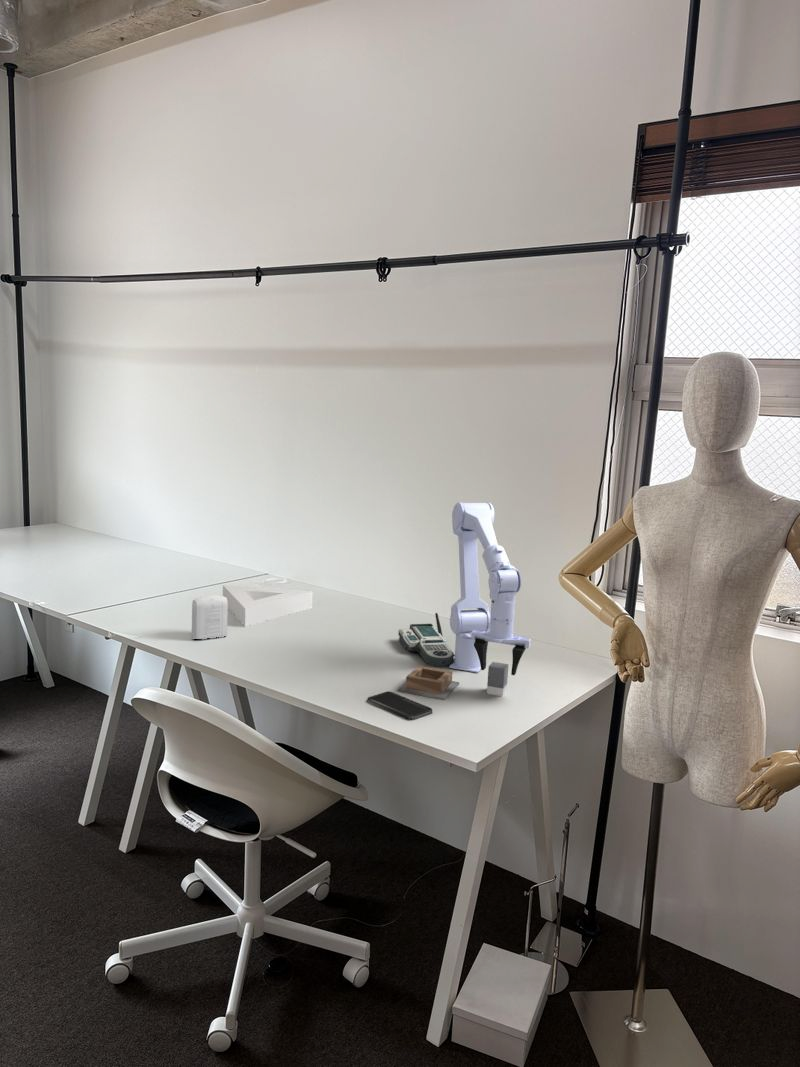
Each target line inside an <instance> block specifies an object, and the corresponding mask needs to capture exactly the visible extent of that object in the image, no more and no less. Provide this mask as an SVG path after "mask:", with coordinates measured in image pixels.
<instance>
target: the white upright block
mask: <svg viewBox="0 0 800 1067" xmlns="http://www.w3.org/2000/svg"><path fill="white" fill-rule="evenodd" d="M228 610H229V609H228V602H227V598H226V597H224V596H223V595H220V594H206V595H202V596H198V597H197V598H194V599H193V600H192V602H191V639H192V638H194V639H202V640H208V639H207V638H210V639H217V638H218V637H219V638H225V637H224V636H226V637H227V636H228ZM216 637H217V638H216Z"/></svg>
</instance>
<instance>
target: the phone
mask: <svg viewBox="0 0 800 1067" xmlns="http://www.w3.org/2000/svg"><path fill="white" fill-rule="evenodd" d="M367 701H368V702H369V704H370V703H371V704H370V705H373V706H376V707H378V708H380V709H383V710H385V711H387V712H389V713H392V714H393V715H395V716H398V717H399V718H403V719H406V720H407V721H415V720H417V719H420V718H423V717H427V716H429V715H432V714H433V708H432V707H429V706H427V705H424V704H422V703H420V702H417V701H415V700H413V699H410V698H408V697H406V696H403V695H400V694H398V693H395V692H393V691H388V690H387V691H384V692H379V693H378V694H373V695H371V696H368V697H367V700H366V702H367ZM368 702H367V703H368Z"/></svg>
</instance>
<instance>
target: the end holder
mask: <svg viewBox="0 0 800 1067" xmlns="http://www.w3.org/2000/svg"><path fill="white" fill-rule="evenodd" d="M459 685H460V682H459V681H454V680H453V671H451V670H445V669H439V668H434V667H428V666H422V665H417V667H415V669H413V670H412V671H411V672H410V673H409V674H408V675H406V677H405V682H404V683H403V684H402V685H401V686H400V687H398V688H397V692H401V693H406V694H411V695H417V696H421V697H427V698H433V699H436V700H437V699H439V700H442V701H445V700H446V699H448V696H450V695H451V694H452V692H454V690H455V689H457V687H458V686H459Z"/></svg>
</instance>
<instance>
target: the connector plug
mask: <svg viewBox="0 0 800 1067" xmlns="http://www.w3.org/2000/svg"><path fill="white" fill-rule="evenodd" d="M487 671H488V672H487V683H486V686H487V687H486V694H487V693H488V694H487V695H491V694H492V696H496V697H497V696H498V697H504V696H505V694H506V692H507V691H508V676H509V663H502V662H497V661H492V662H491V663H490V664H489V665H488V670H487Z"/></svg>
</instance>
